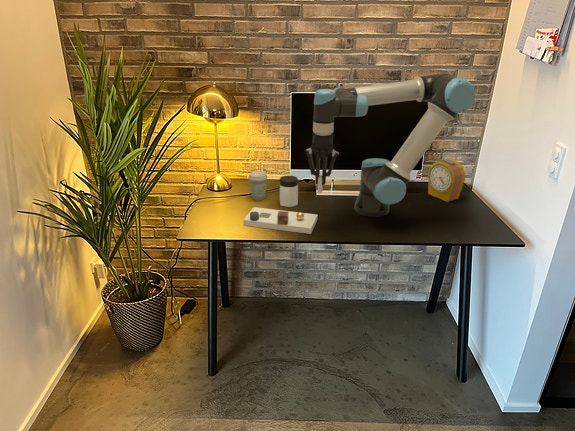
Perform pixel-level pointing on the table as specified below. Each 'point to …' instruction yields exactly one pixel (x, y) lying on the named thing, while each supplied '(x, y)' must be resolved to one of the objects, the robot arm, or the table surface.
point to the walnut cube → (282, 218)
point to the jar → (288, 191)
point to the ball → (300, 216)
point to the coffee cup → (258, 184)
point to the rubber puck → (254, 216)
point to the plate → (270, 221)
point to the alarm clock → (446, 179)
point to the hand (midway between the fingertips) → (319, 192)
